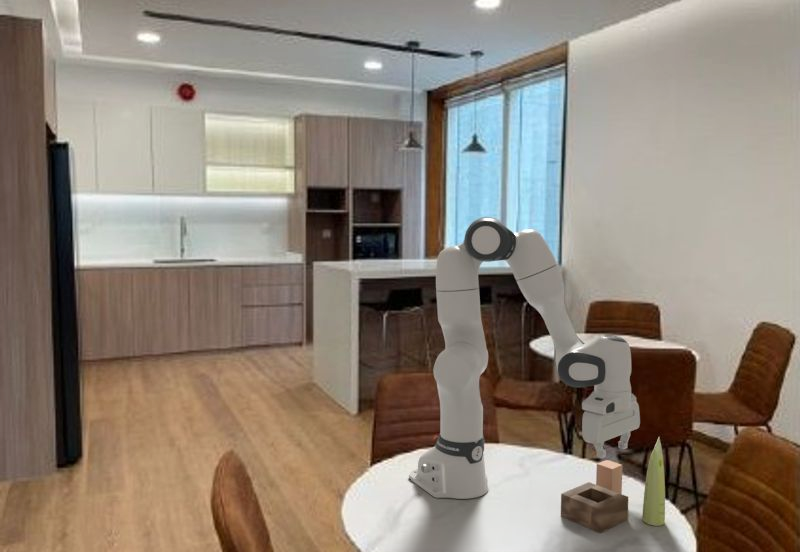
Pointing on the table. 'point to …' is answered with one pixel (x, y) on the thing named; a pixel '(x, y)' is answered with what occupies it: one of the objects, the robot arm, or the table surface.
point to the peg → (609, 476)
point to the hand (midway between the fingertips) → (612, 452)
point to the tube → (655, 489)
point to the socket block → (594, 507)
